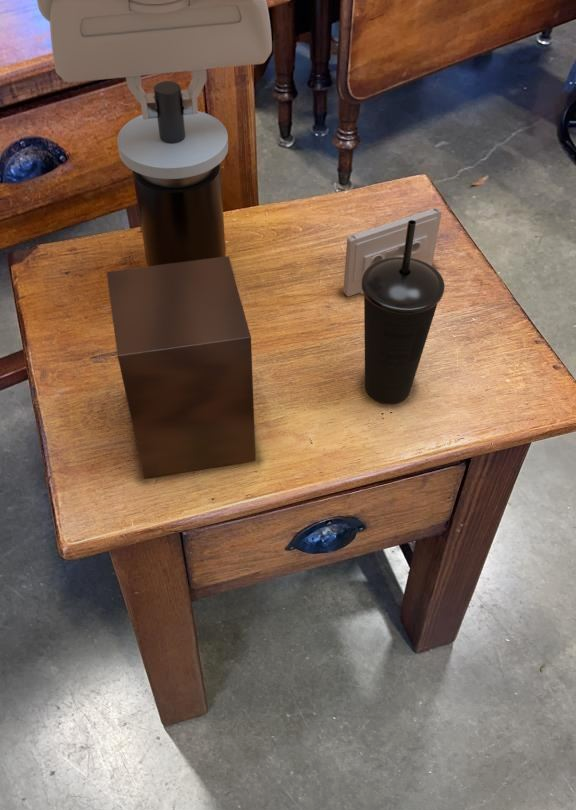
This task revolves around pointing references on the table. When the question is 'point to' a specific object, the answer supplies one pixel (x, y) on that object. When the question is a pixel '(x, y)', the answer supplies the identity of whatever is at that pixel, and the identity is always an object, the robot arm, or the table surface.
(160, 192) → the thermos
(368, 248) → the cassette
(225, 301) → the riser
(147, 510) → the table surface
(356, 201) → the table surface
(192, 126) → the lid
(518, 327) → the table surface
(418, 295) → the drinking cup
